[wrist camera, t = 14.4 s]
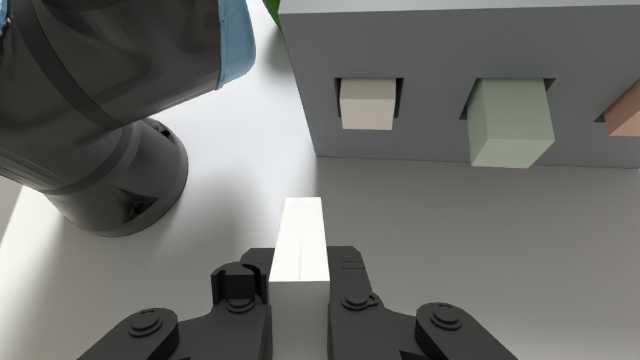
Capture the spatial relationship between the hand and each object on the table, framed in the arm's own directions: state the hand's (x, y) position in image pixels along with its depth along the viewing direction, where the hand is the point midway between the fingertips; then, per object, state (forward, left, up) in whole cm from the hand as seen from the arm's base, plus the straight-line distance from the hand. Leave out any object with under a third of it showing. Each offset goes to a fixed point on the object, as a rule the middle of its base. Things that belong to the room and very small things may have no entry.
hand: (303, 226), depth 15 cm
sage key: (+13, +13, -13) cm, 23 cm away
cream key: (+2, +17, -13) cm, 21 cm away
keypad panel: (+13, +19, -22) cm, 31 cm away
